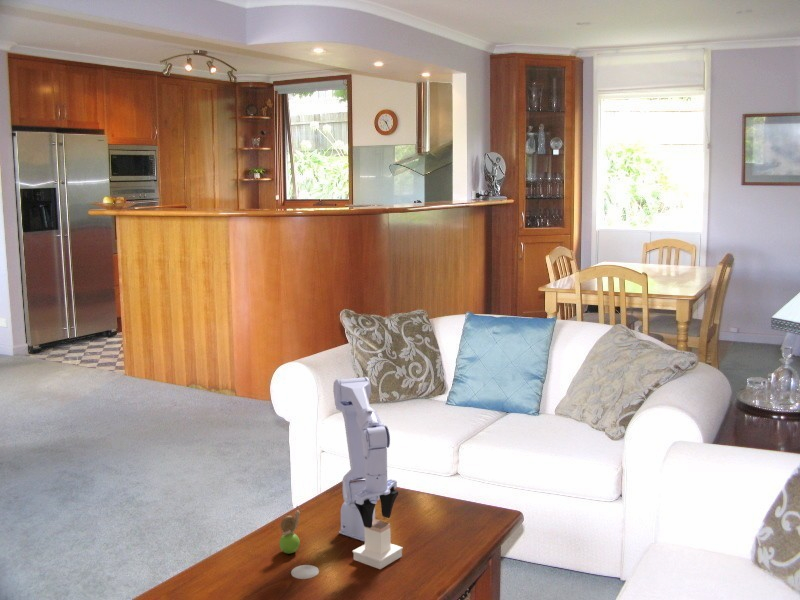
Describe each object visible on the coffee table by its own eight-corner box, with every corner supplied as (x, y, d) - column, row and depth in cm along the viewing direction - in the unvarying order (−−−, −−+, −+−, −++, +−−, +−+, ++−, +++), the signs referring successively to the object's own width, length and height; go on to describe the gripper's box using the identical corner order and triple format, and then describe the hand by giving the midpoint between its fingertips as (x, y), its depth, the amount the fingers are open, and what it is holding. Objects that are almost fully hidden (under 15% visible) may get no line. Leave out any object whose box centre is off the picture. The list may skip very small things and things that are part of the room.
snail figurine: (307, 550, 224) (305, 508, 222) (288, 559, 219) (286, 515, 217) (294, 545, 228) (292, 503, 226) (275, 553, 223) (273, 510, 221)
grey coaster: (285, 574, 212) (285, 572, 211) (305, 564, 217) (304, 562, 217) (305, 582, 207) (305, 580, 207) (324, 572, 213) (324, 570, 213)
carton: (364, 549, 219) (364, 523, 218) (374, 543, 222) (374, 518, 221) (381, 554, 215) (380, 529, 214) (390, 549, 219) (390, 523, 218)
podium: (352, 559, 218) (352, 550, 218) (375, 546, 226) (375, 538, 225) (380, 569, 213) (380, 560, 212) (402, 556, 220) (402, 547, 220)
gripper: (370, 483, 207) (371, 535, 210) (405, 467, 219) (406, 516, 221) (348, 477, 212) (349, 528, 214) (384, 461, 223) (385, 509, 225)
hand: (377, 521), depth 218 cm, fingers open, 7 cm apart
